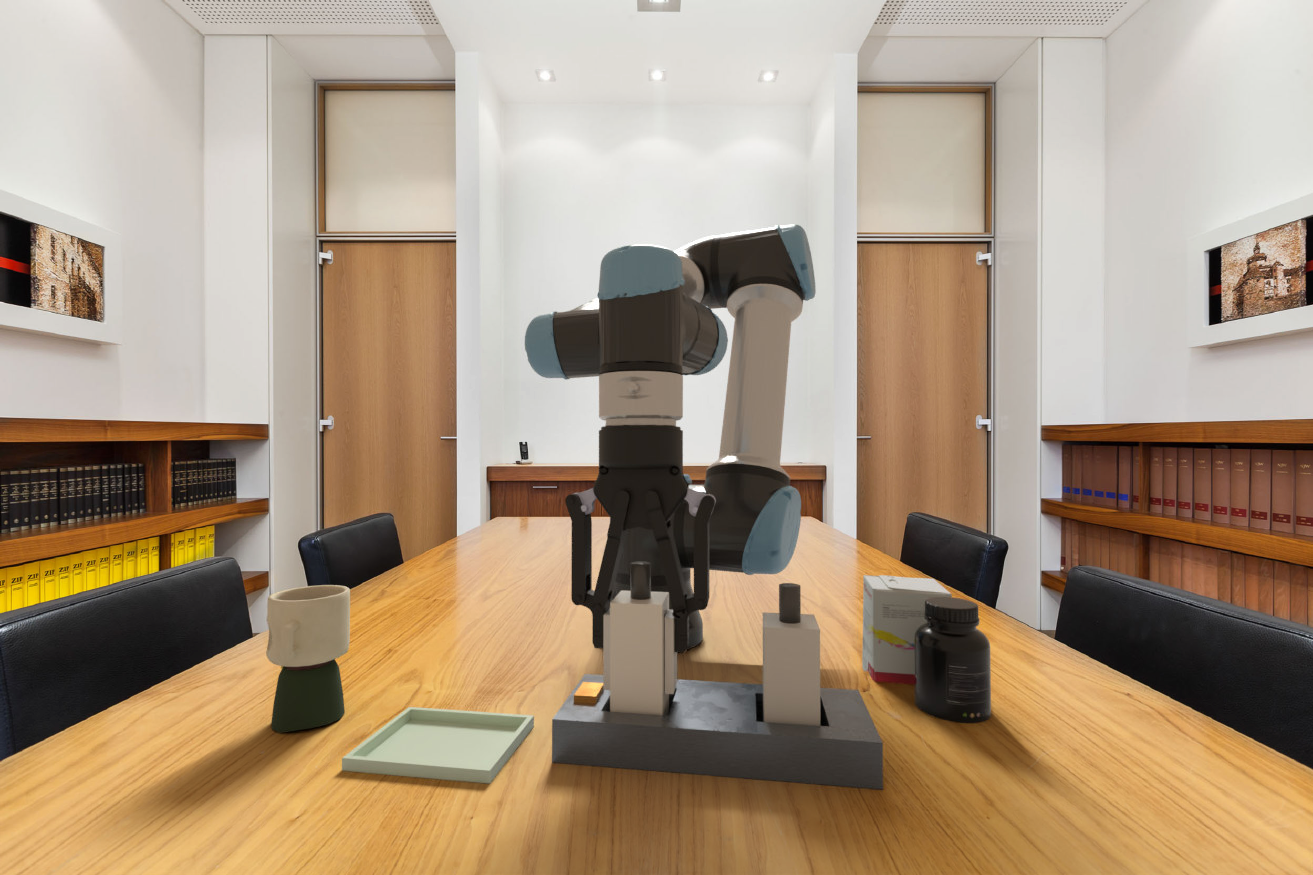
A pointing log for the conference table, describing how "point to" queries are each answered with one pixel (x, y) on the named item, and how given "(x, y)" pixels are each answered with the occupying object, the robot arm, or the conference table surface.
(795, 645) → the twin plug
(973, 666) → the supplement bottle
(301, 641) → the character mug
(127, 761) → the conference table surface
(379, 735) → the tray
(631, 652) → the plug
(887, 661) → the ink box
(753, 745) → the power strip
